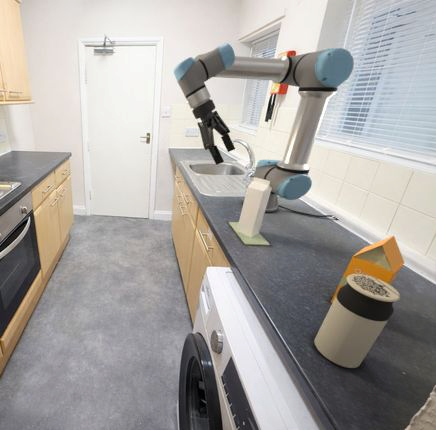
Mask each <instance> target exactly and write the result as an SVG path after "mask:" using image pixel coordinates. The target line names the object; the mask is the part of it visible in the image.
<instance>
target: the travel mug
mask: <svg viewBox="0 0 436 430" xmlns="http://www.w3.org/2000/svg"><path fill="white" fill-rule="evenodd" d="M400 299H401V295H400V292H399V291H398V290H397V289H396V288H394V287H393V286H392V285H391V286H390V285H389V284H387V283H385V282H383V281H381V280H379V279H377V278H374V277H371V276H367V275H362V274H351V275H349V276H348V277H347V284H346V285H344V286H342V287H341V288H340V289H339V291H338V293H337V295H336V297H335V299H334V301H333V303H331V305H330V307H329V310H328V311H327V313H326V315H325V317H324V320H323V321H322V323H321V325H320V328H319V330H318V331H317V334H316V335H315V338H314V341H313V343H314V345H315V347H316V349H317V350H318V352H319V353H320V354H321V355H323V357H324V358H326V359H327V360H329V361H331V362H332V363H334V364H336V365H338V366H340V367H343V368H347V369H356V368H358V367H360V365H362V363H363V361H364V360H365V358H366V356H367V355H368V353H369V352H370V350H371V349H372V347H373V346H374V343H375V342H376V341H377V339H378V338H379V336H380V334H381V333H382V331H383V330H384V328H385V326H386V325H387V324H388V322H389V320H390V319H391V317H392V316H393V314H394V312H395V311H394V305H393V304H394V302H398V301H399V300H400Z"/></svg>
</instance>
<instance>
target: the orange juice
mask: <svg viewBox="0 0 436 430" xmlns="http://www.w3.org/2000/svg"><path fill="white" fill-rule="evenodd" d="M404 264H405V260H404V258H403V255H402V253H401V250H400V248H399V245H398V242H397V239H396V237H395V235H392V236H390V237H389V236H388V237H387V238H385V239H382V240H380V241H377V242H373V243H372V244H370V245H367V246H365V247H363V248H362V249H360V250H359V251H358V252H356V253H355V254H354V255H353V256H352V257H351V259H350V261H349V263H348V265H347V267H346V270H345V271H344V274H343V275H342V277H341V279H340V281H339V283H338V285H337V288H336V290H335V292H334V295H333V297H332V299H331V301H330V303H331V304H332V303H333V301H334V299H335V297H336V295H337V293H338V291H339V289H340V288H341V287H342V286H344V285H346V284H347V277H348V276H349V275H351V274H362V275H367V276H371V277H374V278H377V279H379V280H381V281H383V282H385V283H387V284H389V285H390V286H392V284H393V283H394V280H395V279H396V277H397V276H398V274H399V272H400V270H401V268H402V267H403V266H404Z"/></svg>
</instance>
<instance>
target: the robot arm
mask: <svg viewBox="0 0 436 430" xmlns="http://www.w3.org/2000/svg"><path fill="white" fill-rule="evenodd" d="M354 66H355V61H354V57H353V55H352V54H351V52H350V51H349V50H348V49H345V48H343V47H336V48H334V47H333V48H327V49H322V50H317V51H312V52H307V53H302V54H298V55H297V54H296V55H283V56H280V57H279V58H275V57H273V58H272V57H256V56H238V55H236V54H235V51H234V48H233V47H232V45H231V44H229V43H227V42H225V43H223V44H222V45H219V46H217V47H216V48H214V49H212V50H211V51H208V52H204V53H202V54H198V55H197V56H195V57H194V58H193V57H192V56H189V57H187V58H185V59H184V60H182V61H181V62H179V63H178V64H177V65H176V66H175V67H174V69H173V75H174V76H175V79H176V81H177V84H178V86H179V88H180V89H181V91H182V94H183V96H184V98H185V99H186V104H187V105H188V106H189V108H190V109H191V110H192V111H191V112H192V114H193V116H194V119H195V120H198V119H200V121H198V122H197V123H196V124H197V126H198V128H199V132H200V137H201V142H202V145H203V149H204V150H206V151H207V150H208V151H209V153H210V156H212V159H213V161H214V163H215V165H217V166H218V165H219V164H223V163H224V162H225V161H224V159H223V156H222V154H221V151H220V150H219V148H218V146H217V144H215V135H214V130H215V131H216V132H217V133H218V134H219V135H220V136H221V137H220V138H221V140H222V143H223V145H224V147H225V149H226V151H227V153H229V152H232V151H235V149H236V147H235V145H234V143H233V141H232V139H231V137H230V135H229V134H230V133H231V130H230V128H229V127H228V126H227V124H226V123H225V121H224V120H223V119H222V118H221V116H220V115H219V112H218V111H217V110H215V109H216V108H217V107H216V105H215V103H214V101H213V99H211V97H212V95H211V94H210V92H209V90H208V88H207V85H206V84H205V82H207V81H208V80H210V79H212V78H222V79H223V78H224V79H242V80H258V81H272V83H273V84H278V85H279V84H280V85H286V86H292V87H298V90H297V94H298V95H299V96H300V99H299V102H298V106H297V109H296V112H295V117H294V120H293V123H292V126H291V130H290V133H289V137H288V140H287V143H286V147H285V150H284V153H283V157H282V160H280V159H260V160H258V161H257V163H256V166H255V170H254V175H253V179H254V177H256V178H260V179H264V180H268V181H270V187H271V188H272V189H271V193H270V196H269V199H268V203H267V206H266V210H265V213H274V212H277V211H278V209H279V208H281V209H284V210H286V211H289V212H293V213H295V214H301V215H305V216H308V217H309V216H310V217H316V218H332V219H335V220H336V221H339V218H338V217H337V218H338V219H337V218H335V217H336V216H335V217H332V216H333V215H331V214H326V215H325V214H323V215H319V214H312V213H307V212H304V211H297V210H293V209H291V208H289V207H286V206H283V205H279V199H278V198H282V199H284V200H287V201H295V200H299V199H300V198H302V197H304V196H306V194H307V193H309V191H310V190H311V188H312V184H313V180H312V179H311V177H310V176H309V173H310V170H311V168H310V166H309V164H308V162H309V158H310V156H311V153H312V150H313V147H314V144H315V141H316V138H317V135H318V133H319V129H320V126H321V123H322V120H323V117H324V114H325V111H326V109H327V105H328V103H329V100H330V98H331V97H332V96H334V95H335V94H336V93H338V92H337V91H338V89H339V86H341V85H343V84H344V83H345V82H346V81H348V80H349V79H350V77H351V75H352V74H353V71H354ZM253 179H252V180H253ZM244 200H245V197H244V199H243V201H242V205H243V204H244Z"/></svg>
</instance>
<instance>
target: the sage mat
mask: <svg viewBox="0 0 436 430" xmlns="http://www.w3.org/2000/svg"><path fill="white" fill-rule="evenodd" d="M228 224H229V225H230V226H231V228H232V229H233V231H234V232H235V233H236V234H237V236H238V237H239V238H240V240H241V241H242V243H243V244H244V245H247V246H266V247H267V246H268V247H269V246H271V244H270V243H269V242H268V241H267V239H266V238H265V237H264V236H263V235H262V234H261V233H260V232H259V233H258V234H256V235H254V236H252V237H249V236H246V235H244V234H242V233H239V232H237V228H238V224H239V221H228Z"/></svg>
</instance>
